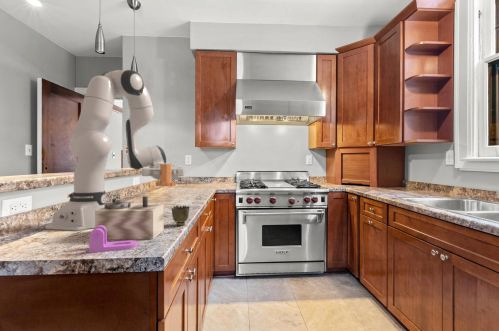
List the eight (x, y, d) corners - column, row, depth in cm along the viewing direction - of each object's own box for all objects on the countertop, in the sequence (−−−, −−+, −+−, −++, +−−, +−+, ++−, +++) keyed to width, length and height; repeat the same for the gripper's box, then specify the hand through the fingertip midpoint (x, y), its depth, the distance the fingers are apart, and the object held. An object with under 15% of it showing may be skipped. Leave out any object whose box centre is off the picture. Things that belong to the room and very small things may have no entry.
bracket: (89, 253, 81) (89, 229, 81) (93, 247, 87) (93, 225, 86) (136, 249, 85) (136, 226, 85) (137, 243, 91) (137, 223, 91)
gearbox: (94, 239, 95) (94, 198, 95) (112, 229, 108) (112, 194, 108) (153, 239, 96) (153, 199, 96) (163, 229, 109) (163, 194, 108)
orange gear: (153, 186, 125) (153, 164, 125) (159, 184, 134) (159, 164, 134) (173, 186, 125) (173, 164, 125) (177, 184, 134) (177, 164, 134)
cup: (184, 228, 112) (184, 208, 112) (168, 226, 113) (168, 207, 113) (192, 223, 119) (192, 205, 119) (176, 223, 121) (176, 204, 121)
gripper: (139, 165, 136) (142, 165, 124) (180, 165, 146) (187, 166, 134) (139, 178, 136) (142, 179, 124) (180, 177, 146) (187, 178, 134)
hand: (166, 172), depth 129 cm, fingers closed on orange gear, 5 cm apart
